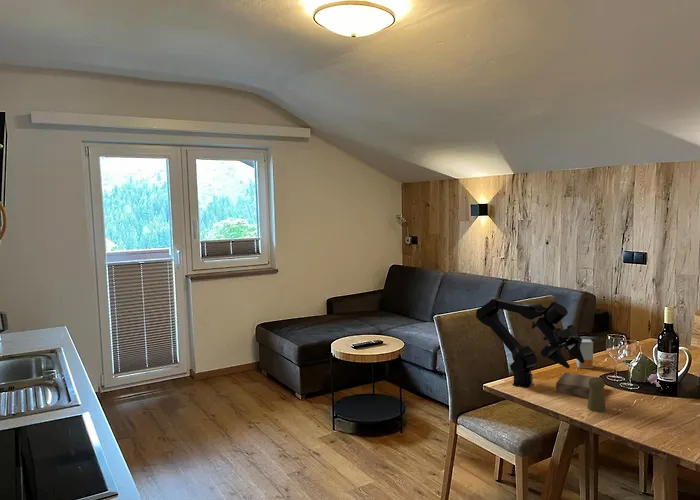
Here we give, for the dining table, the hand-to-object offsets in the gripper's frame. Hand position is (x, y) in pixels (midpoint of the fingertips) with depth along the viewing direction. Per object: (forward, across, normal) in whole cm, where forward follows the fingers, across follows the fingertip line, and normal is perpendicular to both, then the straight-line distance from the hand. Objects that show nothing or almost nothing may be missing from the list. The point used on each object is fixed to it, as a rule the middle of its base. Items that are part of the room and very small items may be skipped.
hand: (576, 365), depth 190 cm
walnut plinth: (+5, +11, +14) cm, 19 cm away
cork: (+16, 0, +5) cm, 16 cm away
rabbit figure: (+16, +39, +4) cm, 43 cm away
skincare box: (-6, +39, +25) cm, 46 cm away
